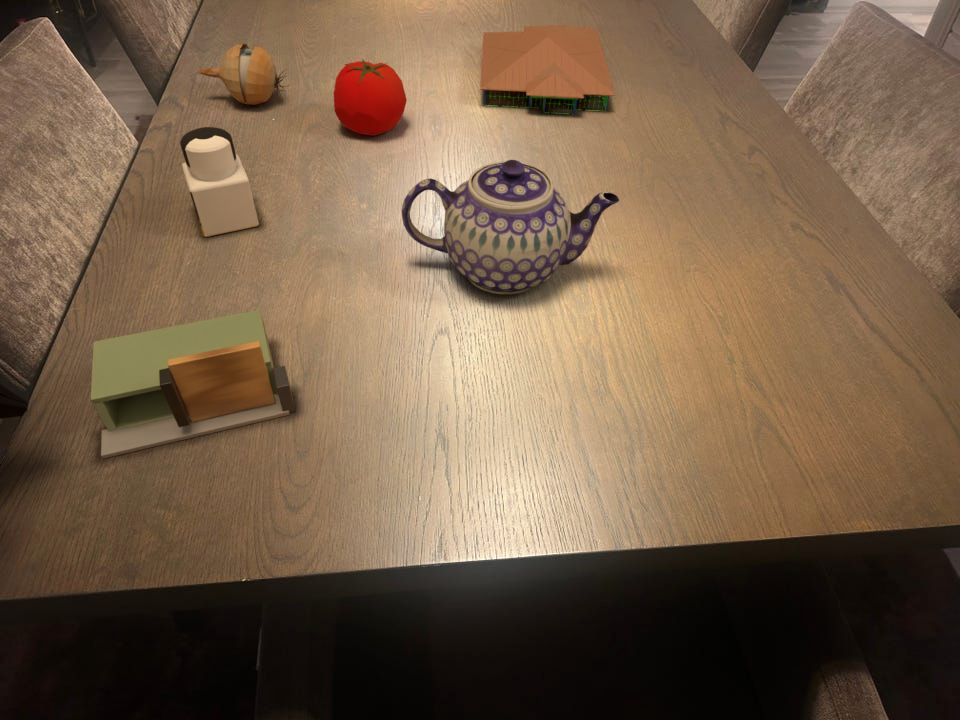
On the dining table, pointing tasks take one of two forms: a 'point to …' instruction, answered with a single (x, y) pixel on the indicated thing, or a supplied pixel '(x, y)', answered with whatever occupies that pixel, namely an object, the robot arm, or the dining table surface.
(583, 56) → the house
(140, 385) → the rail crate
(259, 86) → the split yellow onion
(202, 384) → the sliding door
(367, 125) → the tomato
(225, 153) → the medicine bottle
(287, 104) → the dining table surface
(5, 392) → the robot arm
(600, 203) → the teapot
